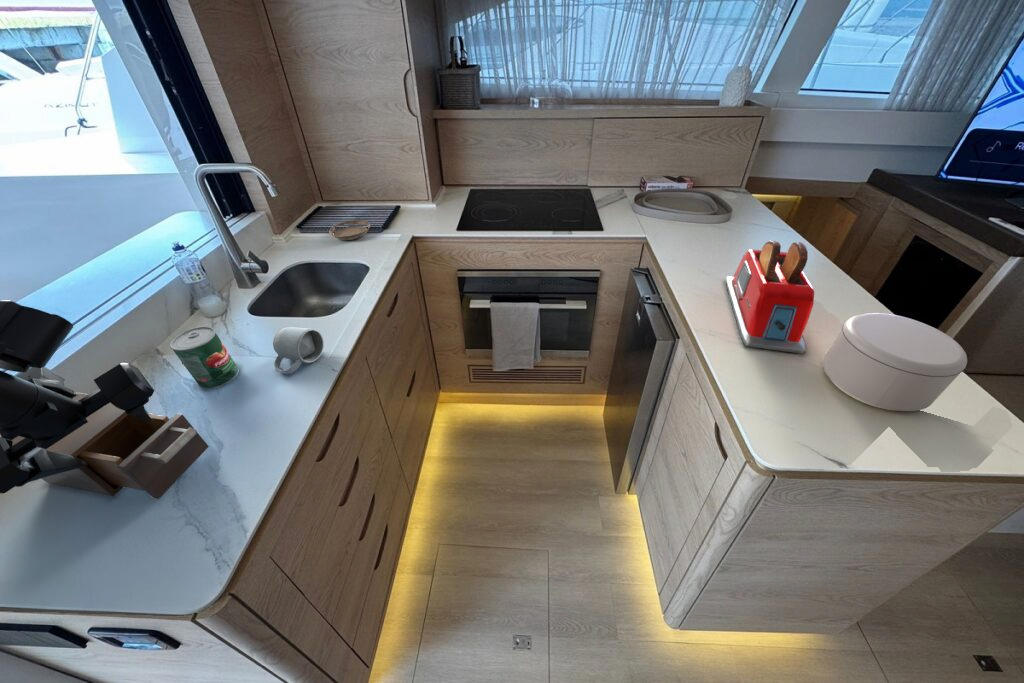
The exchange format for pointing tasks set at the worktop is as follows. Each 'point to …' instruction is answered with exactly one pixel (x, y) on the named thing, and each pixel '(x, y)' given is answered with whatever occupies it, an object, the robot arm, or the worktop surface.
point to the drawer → (145, 453)
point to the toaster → (772, 297)
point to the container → (893, 361)
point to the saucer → (350, 230)
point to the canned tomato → (205, 357)
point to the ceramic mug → (297, 347)
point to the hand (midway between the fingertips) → (118, 440)
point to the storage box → (78, 443)
